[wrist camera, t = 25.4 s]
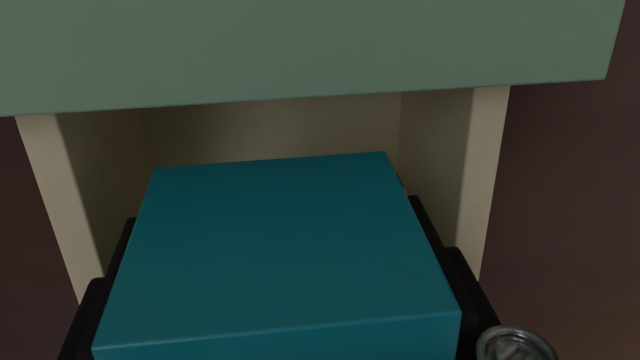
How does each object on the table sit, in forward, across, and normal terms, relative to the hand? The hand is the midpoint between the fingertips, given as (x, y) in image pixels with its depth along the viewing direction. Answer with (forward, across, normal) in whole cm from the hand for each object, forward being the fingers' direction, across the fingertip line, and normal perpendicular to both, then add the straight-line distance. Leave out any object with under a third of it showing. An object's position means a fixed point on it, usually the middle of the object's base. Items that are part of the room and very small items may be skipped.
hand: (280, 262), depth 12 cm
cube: (0, 0, 0) cm, 0 cm away
